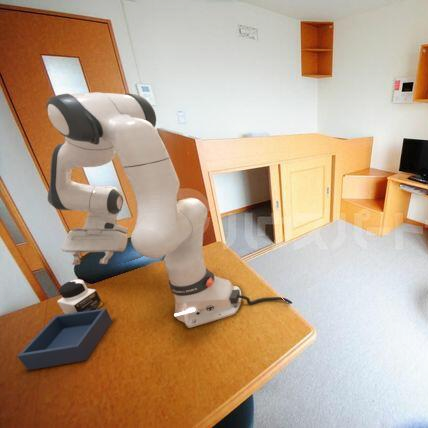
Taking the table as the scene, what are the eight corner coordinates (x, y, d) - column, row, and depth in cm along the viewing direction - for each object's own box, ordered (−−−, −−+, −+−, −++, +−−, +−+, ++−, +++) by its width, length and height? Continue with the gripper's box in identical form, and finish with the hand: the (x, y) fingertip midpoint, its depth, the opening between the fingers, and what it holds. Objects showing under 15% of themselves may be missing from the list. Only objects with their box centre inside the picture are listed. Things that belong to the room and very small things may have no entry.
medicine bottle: (82, 320, 80) (66, 293, 75) (65, 316, 81) (49, 289, 76) (103, 304, 86) (90, 278, 81) (87, 301, 88) (74, 275, 82)
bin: (112, 321, 80) (105, 308, 77) (86, 360, 68) (77, 346, 65) (64, 328, 77) (55, 315, 75) (28, 370, 65) (16, 356, 63)
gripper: (62, 225, 87) (49, 263, 82) (121, 224, 88) (111, 262, 83) (78, 230, 93) (66, 266, 88) (133, 229, 94) (124, 264, 89)
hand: (89, 264), depth 86 cm, fingers open, 8 cm apart
